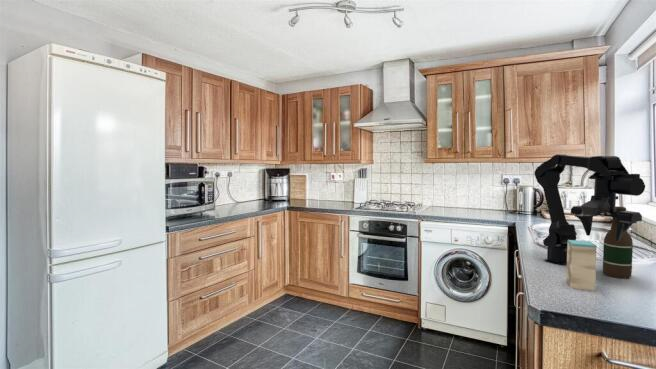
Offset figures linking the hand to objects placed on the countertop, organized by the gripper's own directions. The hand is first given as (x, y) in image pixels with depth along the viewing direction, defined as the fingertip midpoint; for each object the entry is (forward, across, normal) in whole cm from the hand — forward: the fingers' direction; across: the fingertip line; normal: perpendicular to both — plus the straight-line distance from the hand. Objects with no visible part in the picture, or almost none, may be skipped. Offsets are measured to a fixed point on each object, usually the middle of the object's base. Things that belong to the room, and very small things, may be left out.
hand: (602, 238), depth 114 cm
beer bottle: (+14, +1, +6) cm, 15 cm away
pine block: (+13, +4, -16) cm, 22 cm away
